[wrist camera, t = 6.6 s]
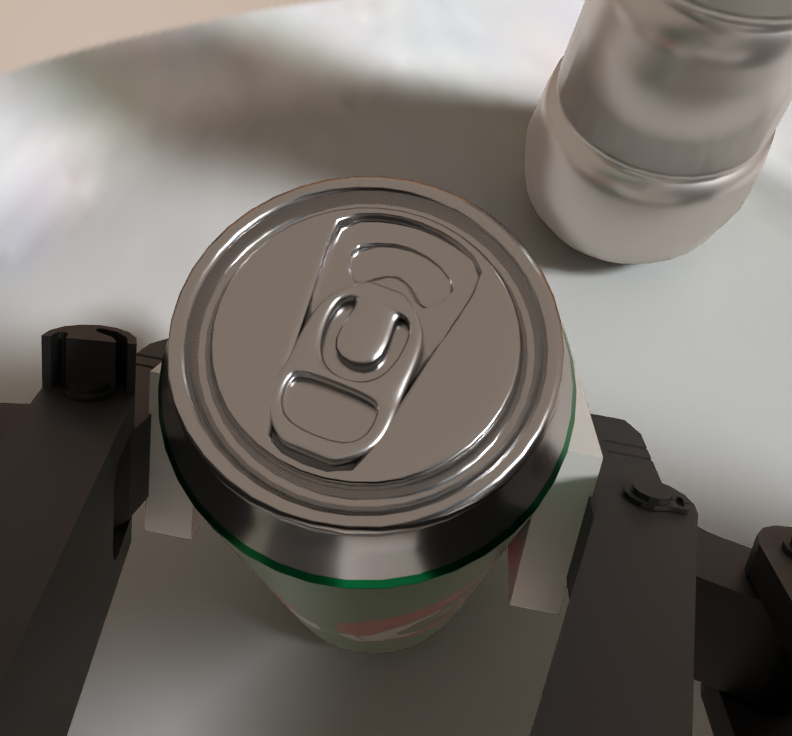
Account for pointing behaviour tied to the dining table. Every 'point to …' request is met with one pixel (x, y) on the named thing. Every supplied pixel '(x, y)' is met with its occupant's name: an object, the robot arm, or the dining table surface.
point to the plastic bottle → (657, 123)
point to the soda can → (367, 401)
